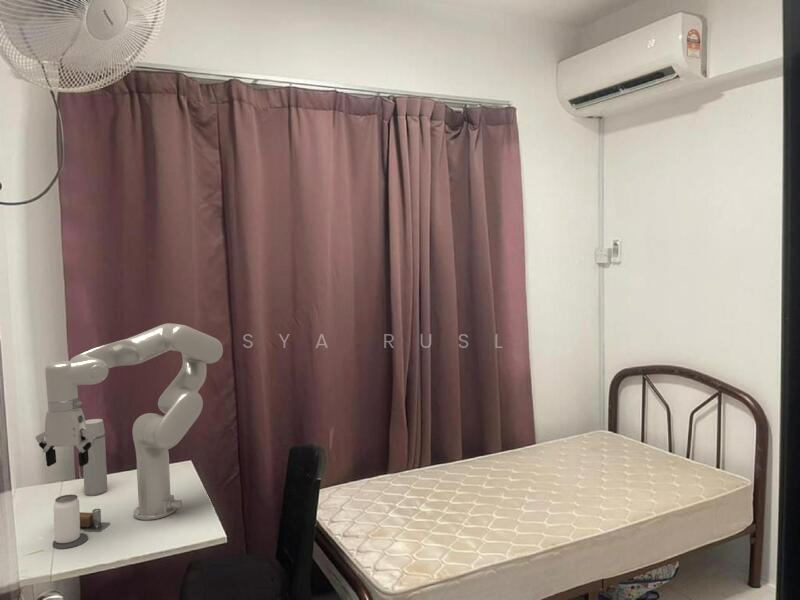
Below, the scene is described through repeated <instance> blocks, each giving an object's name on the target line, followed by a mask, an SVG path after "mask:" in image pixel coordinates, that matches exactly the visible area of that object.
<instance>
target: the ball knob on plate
mask: <svg viewBox="0 0 800 600" xmlns="http://www.w3.org/2000/svg"><path fill="white" fill-rule="evenodd" d="M91 511H92V512H91V513H92V514H93V525H91V526H90V527H88V526H86V528H84V531H83V532H93V533H95V532H96V533H101V532H102V531H104V530H105V529H106V528H108V527H109V526H110V525H111V522H108V521H107V522H102V513H101V511H102V510H101V508H95V509H92V510H91Z"/></svg>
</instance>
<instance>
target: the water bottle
mask: <svg viewBox="0 0 800 600" xmlns="http://www.w3.org/2000/svg"><path fill="white" fill-rule="evenodd" d="M85 422H86V428H87V431H88V432H90V433H92V434H94V435H96V438H95V441H94V442H93V445H92V446H91V447H90V449H89V450H88V457H89V461H88V463H87V464H86V465H84V466H79V465H78V476H79V479H80V480H83V486H84V487H83V488H84V491H83V492H84V494H86V495H87V496H98V495H102V494H103V493H105V492H106V491H107V489H108V473H107V455H106V451H107V450H106V449H107V448H106V436H105V434H106V430H105V425H104V420H103V419H102V418H90V419H87V420H86V419H85ZM85 442H86V443H87V442H88V438H87V440H86V441H85ZM81 467H82V470H83V473H81ZM82 474H83V477H82Z"/></svg>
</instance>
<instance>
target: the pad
mask: <svg viewBox="0 0 800 600" xmlns="http://www.w3.org/2000/svg"><path fill="white" fill-rule="evenodd" d="M87 541H89V535H88V534H87V533H85V532H84V533H83V532H80V537H79V538H78V539H77V540H76V541H74V542H71V543H66V544H59V543H57V542H55V540H54V539H53V542H52V547H53V548H54V549H57V550H67V549H68V550H69V549H73V548H76V547H79V546H81V545H84V544H85V543H86V542H87Z"/></svg>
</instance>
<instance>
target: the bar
mask: <svg viewBox="0 0 800 600" xmlns="http://www.w3.org/2000/svg"><path fill="white" fill-rule="evenodd" d="M91 525H93V514H92V512H86V513H84V512H80V527H90V526H91Z"/></svg>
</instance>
